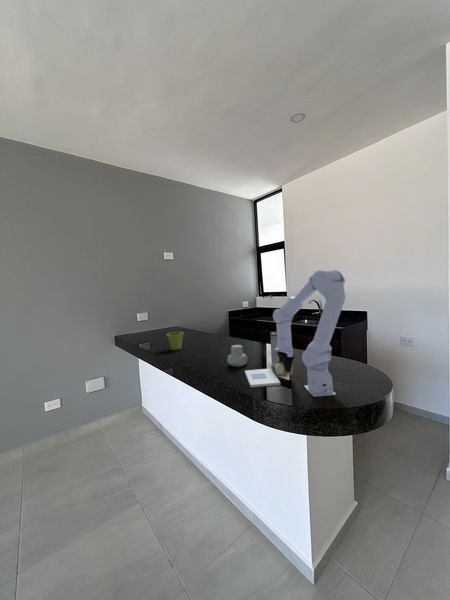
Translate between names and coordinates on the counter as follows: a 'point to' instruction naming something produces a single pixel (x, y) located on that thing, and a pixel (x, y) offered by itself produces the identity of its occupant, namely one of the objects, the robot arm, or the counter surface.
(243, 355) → the air freshener
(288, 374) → the maple block
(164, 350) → the counter surface
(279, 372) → the sage block
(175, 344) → the plant pot
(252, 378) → the plate
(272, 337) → the coffee box
